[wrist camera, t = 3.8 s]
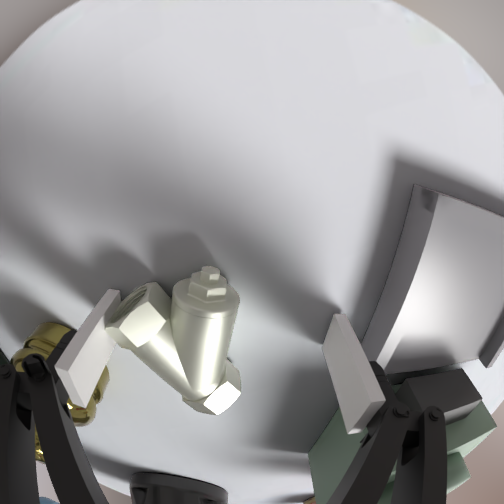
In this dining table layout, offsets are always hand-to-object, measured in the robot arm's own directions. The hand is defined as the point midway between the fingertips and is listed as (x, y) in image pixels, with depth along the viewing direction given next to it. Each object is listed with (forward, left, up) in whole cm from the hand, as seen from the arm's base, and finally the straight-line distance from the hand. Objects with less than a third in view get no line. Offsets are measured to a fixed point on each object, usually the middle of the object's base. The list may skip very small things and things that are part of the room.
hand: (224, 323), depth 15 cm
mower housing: (-11, -17, 0) cm, 20 cm away
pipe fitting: (-1, +1, -1) cm, 2 cm away
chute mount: (+3, -17, 0) cm, 17 cm away
